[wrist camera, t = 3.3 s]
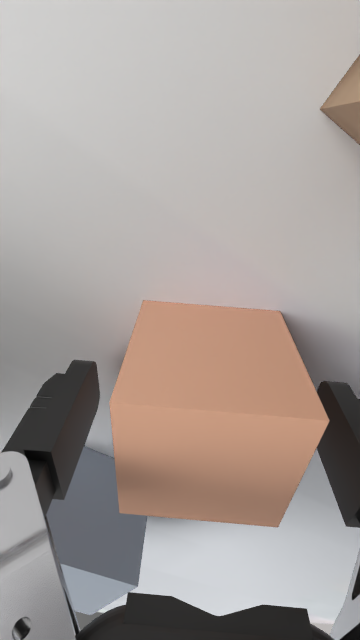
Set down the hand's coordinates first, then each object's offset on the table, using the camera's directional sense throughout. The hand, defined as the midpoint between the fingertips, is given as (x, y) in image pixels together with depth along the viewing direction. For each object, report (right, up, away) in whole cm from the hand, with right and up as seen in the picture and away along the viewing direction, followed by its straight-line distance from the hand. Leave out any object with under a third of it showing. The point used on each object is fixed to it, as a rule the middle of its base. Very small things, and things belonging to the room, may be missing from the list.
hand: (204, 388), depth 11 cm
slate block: (-6, -7, +7) cm, 11 cm away
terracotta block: (0, +1, +1) cm, 2 cm away
